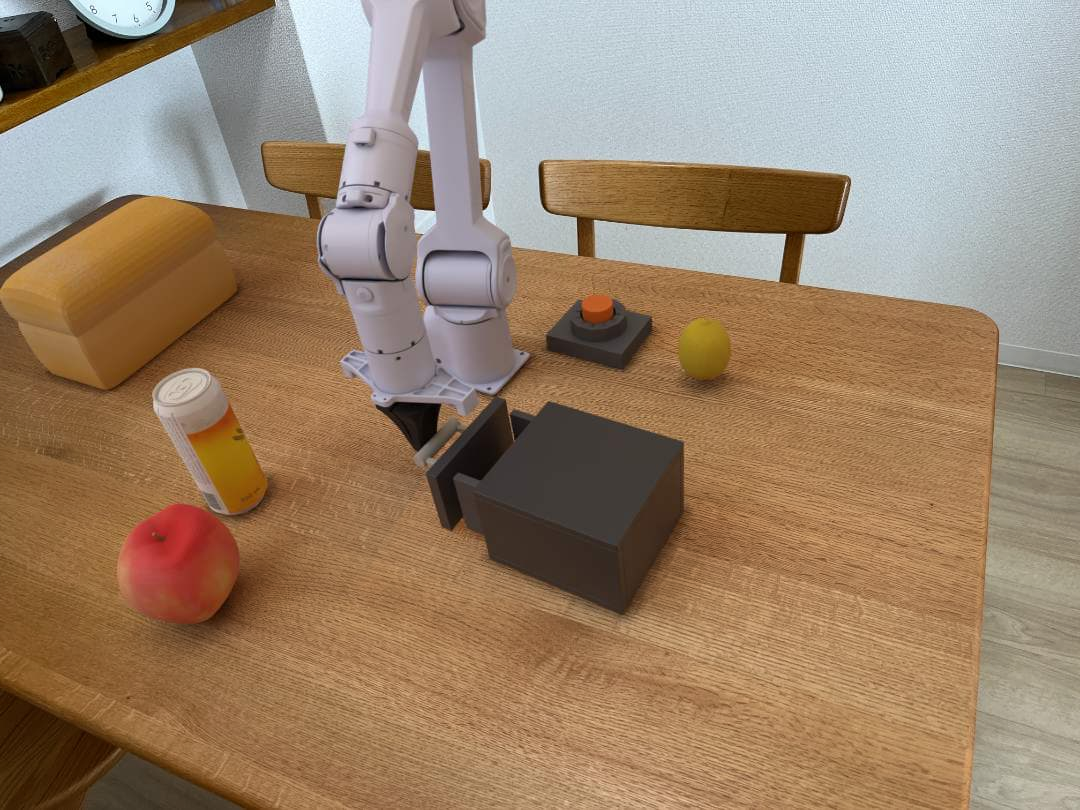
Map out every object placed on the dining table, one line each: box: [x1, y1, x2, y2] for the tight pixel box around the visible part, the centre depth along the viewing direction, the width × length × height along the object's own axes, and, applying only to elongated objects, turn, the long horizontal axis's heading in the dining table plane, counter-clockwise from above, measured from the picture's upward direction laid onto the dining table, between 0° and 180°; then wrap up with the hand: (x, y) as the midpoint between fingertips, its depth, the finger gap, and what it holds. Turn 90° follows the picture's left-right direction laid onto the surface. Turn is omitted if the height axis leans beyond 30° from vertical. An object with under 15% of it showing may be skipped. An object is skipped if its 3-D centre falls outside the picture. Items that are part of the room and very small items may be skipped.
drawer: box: [412, 395, 536, 536], centre depth 75 cm, size 17×11×7 cm
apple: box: [116, 503, 240, 625], centre depth 70 cm, size 10×10×10 cm
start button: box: [581, 294, 613, 324], centre depth 94 cm, size 4×4×2 cm
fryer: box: [473, 400, 685, 616], centre depth 71 cm, size 14×13×9 cm
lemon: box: [677, 317, 732, 381], centre depth 86 cm, size 6×6×8 cm
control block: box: [545, 298, 653, 370], centre depth 95 cm, size 10×8×4 cm
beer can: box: [151, 367, 268, 516], centre depth 79 cm, size 6×6×15 cm
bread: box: [0, 195, 238, 391], centre depth 106 cm, size 24×13×15 cm, turn 153°
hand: (426, 446), depth 79 cm, fingers closed
